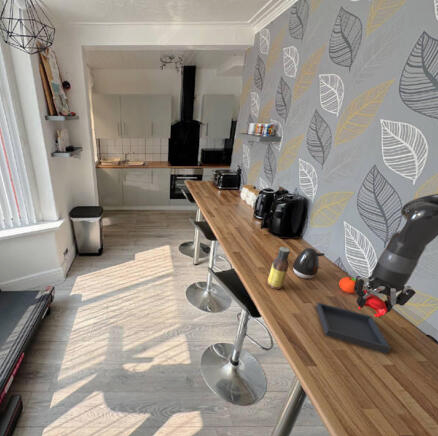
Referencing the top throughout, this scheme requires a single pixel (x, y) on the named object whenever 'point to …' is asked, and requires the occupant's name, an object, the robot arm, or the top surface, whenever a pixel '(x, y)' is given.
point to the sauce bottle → (279, 269)
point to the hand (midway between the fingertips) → (371, 308)
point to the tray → (352, 327)
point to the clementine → (347, 284)
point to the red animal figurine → (376, 305)
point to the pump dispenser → (307, 263)
